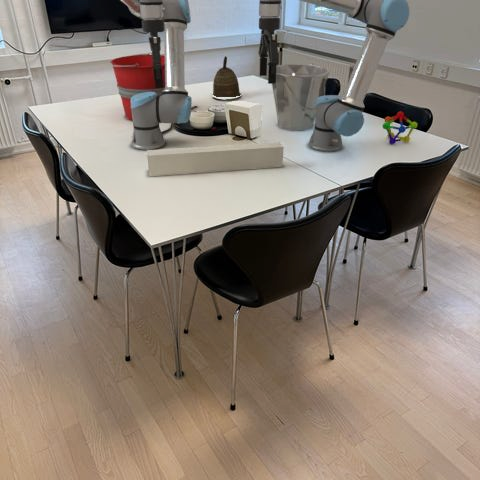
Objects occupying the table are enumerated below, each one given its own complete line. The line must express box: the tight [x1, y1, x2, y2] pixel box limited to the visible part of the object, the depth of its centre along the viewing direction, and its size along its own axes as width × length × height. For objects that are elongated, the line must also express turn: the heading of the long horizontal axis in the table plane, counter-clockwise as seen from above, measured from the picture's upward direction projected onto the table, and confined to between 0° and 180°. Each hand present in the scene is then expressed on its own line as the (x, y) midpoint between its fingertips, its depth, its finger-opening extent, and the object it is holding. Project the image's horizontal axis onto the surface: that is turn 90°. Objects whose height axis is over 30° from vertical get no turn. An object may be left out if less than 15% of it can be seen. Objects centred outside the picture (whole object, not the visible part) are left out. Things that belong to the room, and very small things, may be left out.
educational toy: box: [382, 110, 418, 145], centre depth 207 cm, size 16×13×15 cm
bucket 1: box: [107, 51, 165, 122], centre depth 239 cm, size 35×35×30 cm
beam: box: [146, 141, 285, 177], centre depth 181 cm, size 55×6×9 cm, turn 101°
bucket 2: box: [271, 63, 330, 131], centre depth 226 cm, size 30×30×28 cm
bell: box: [212, 56, 242, 97], centre depth 278 cm, size 19×26×20 cm
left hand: (158, 83), depth 161 cm, fingers open, 13 cm apart
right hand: (267, 79), depth 168 cm, fingers open, 13 cm apart
